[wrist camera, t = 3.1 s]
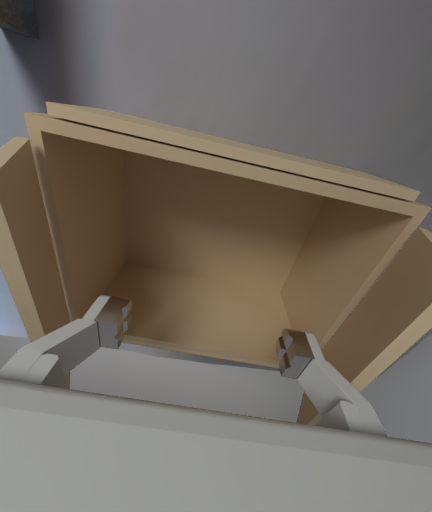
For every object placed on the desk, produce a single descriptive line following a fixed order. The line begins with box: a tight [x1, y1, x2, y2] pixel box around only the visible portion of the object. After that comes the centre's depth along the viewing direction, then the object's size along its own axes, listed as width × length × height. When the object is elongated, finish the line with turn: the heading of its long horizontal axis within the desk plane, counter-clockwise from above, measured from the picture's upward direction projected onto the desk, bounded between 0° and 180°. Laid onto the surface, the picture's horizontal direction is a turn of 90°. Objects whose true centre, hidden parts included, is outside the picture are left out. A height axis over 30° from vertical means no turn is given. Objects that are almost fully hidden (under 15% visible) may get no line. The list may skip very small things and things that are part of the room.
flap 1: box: [0, 137, 71, 389], centre depth 11 cm, size 13×1×6 cm
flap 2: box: [297, 227, 432, 426], centre depth 12 cm, size 13×1×6 cm, turn 168°
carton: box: [24, 102, 432, 369], centre depth 18 cm, size 16×20×10 cm
